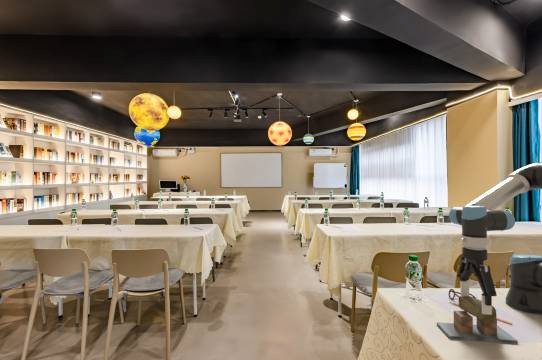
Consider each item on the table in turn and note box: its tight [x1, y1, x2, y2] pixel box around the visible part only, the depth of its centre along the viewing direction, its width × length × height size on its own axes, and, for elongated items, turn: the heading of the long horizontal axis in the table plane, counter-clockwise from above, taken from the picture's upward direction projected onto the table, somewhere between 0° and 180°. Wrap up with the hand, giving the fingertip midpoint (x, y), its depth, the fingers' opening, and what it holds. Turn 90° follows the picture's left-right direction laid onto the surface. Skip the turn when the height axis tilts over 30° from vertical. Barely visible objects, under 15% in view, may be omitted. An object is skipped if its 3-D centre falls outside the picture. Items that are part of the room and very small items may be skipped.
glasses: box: [448, 288, 477, 300], centre depth 132 cm, size 13×13×5 cm
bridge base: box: [436, 310, 519, 344], centre depth 104 cm, size 22×10×7 cm, turn 83°
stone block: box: [458, 295, 497, 321], centre depth 104 cm, size 6×12×5 cm, turn 9°
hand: (475, 305), depth 105 cm, fingers open, 13 cm apart
